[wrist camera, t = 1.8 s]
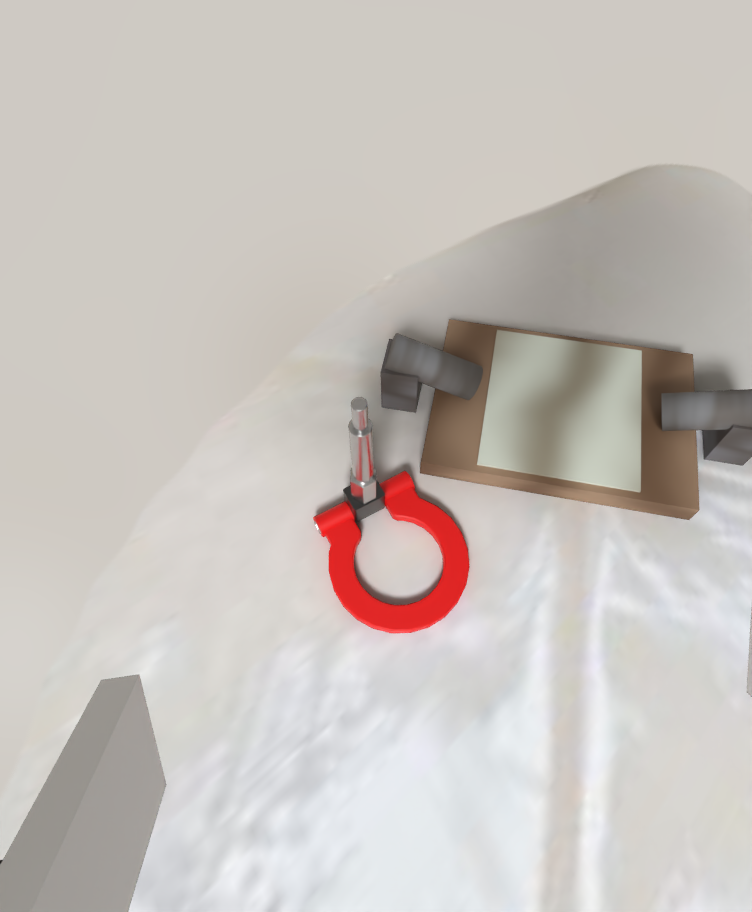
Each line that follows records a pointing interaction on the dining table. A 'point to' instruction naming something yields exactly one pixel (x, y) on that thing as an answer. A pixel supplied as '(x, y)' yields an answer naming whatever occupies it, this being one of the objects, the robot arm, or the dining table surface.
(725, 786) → the dining table surface
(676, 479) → the shaft stand
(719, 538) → the dining table surface
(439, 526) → the tow hook
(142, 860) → the robot arm
